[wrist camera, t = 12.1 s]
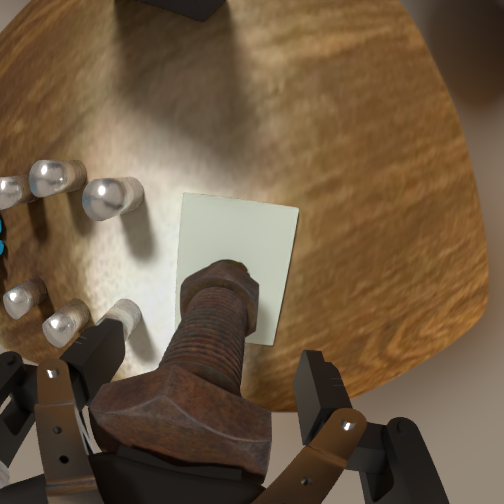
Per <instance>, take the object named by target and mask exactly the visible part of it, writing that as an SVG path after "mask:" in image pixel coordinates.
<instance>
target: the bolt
mask: <svg viewBox="0 0 504 504" xmlns="http://www.w3.org/2000/svg"><path fill="white" fill-rule="evenodd" d="M247 272H248V269H247V267H246V266H245V265H244V264H243V263H242V262H237V261H234V260H231V259H222V260H219V261H216V262H214V263H211V264H210V266H208V267H205V268H203V269H201V270H199V271H197V272H195V273H194V274H192V275H190V276H188V277H187V278H185V280H184V281H183V283H182V284H181V288H180V315H181V322H180V324H179V325H178V328H177V330H176V332H175V333H174V335H173V337H172V339H171V342H170V343H169V346H168V347H167V349H166V351H165V353H164V356H163V357H162V360H161V362H160V363H159V367H158V368H157V369H156V370H154V371H151V372H148V373H144V374H141V375H137V376H133V377H130V378H126V379H122V380H118V381H115V382H111V383H107V384H103V385H102V386H101V388H100V389H99V391H98V393H97V394H96V396H95V397H94V399H93V401H92V402H91V404H90V405H89V407H88V411H89V418H90V425H91V428H92V432H93V435H94V439H95V440H96V443H97V445H98V446H99V448H100V449H101V451H102V452H117V451H118V449H119V446H120V445H121V446H124V447H128V448H131V449H134V450H138V451H141V452H145V453H148V454H150V455H152V456H154V457H156V458H158V459H160V460H163V461H165V462H167V463H169V464H171V465H174V466H177V467H203V466H213V467H221V468H229V469H240V470H242V473H241V477H243V478H246V479H249V480H251V481H254V482H256V483H258V484H260V485H261V484H263V482H264V480H265V477H266V474H267V470H268V465H269V460H270V451H271V442H272V431H271V430H272V427H271V411H270V410H268V409H266V408H263V407H261V406H259V405H256V404H254V403H252V402H250V401H247V400H245V399H243V398H242V396H241V393H240V385H241V377H242V367H243V366H242V364H243V356H244V343H245V337H247V336H249V335H250V334H252V333H254V332H255V331H256V326H257V315H258V304H259V283H257V282H256V281H255V280H254V279H252V278H251V277H250V273H247Z"/></svg>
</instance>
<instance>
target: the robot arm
mask: <svg viewBox="0 0 504 504" xmlns="http://www.w3.org/2000/svg"><path fill="white" fill-rule="evenodd" d="M124 357H125V341H124V330H123V323H122V321H119V320H115V319H111V318H107V317H106V318H105V319H104V320H103V321H102V322H101V323H100V324H99V325H98V326H96V325H94V326H92V327H90V328H88V329H86V330H85V331H84V332H83V333H82V334H81V335H80V337H78V338H77V339H76V340H75V342H74V343H73V344H72V345H71V346H70V347H69V348H68V349H67V350H66V351H65V352H64V353H63V355H62V356H61V357H60V358H59V359H57V358H50V359H46V360H44V361H42V362H41V363H40V364H39V365H38V366H34V365H28V364H24V363H23V360H22V357H21V355H20V354H18V353H16V352H13V351H9V352H4V353H2V354H0V407H1V405H2V404H3V402H4V401H5V400H6V398H7V397H8V396H10V397H11V401H10V402H9V404H8V405H7V406H6V408H5V409H4V410H3V412H2V413H1V415H0V504H321V503H322V501H323V500H324V499H325V498H326V496H327V495H328V493H329V492H330V490H331V489H332V488H333V486H334V485H335V483H336V482H337V480H338V478H339V477H340V475H341V474H342V472H343V471H344V469H347V470H353V471H359V475H360V479H361V484H362V489H363V494H364V499H365V504H449V501H448V498H447V496H446V493H445V491H444V488H443V485H442V483H441V480H440V478H439V475H438V473H437V470H436V468H435V465H434V463H433V461H432V458H431V456H430V454H429V451H428V449H427V447H426V445H425V442H424V440H423V438H422V436H421V433H420V431H419V429H418V427H417V426H416V424H415V423H414V422H413V421H411V420H409V419H407V418H404V417H396V418H393V419H391V420H390V421H389V423H388V424H387V425H381V424H374V423H369V422H367V420H366V418H365V416H364V415H363V414H362V413H360V412H359V411H357V410H355V409H353V408H352V405H351V402H350V400H349V397H348V394H347V392H346V389H345V386H344V384H343V381H342V379H341V376H340V373H339V371H338V369H337V368H336V367H335V366H334V365H333V364H332V363H331V362H325V361H324V358H323V355H322V352H321V351H315V350H303V352H302V354H301V358H300V361H299V365H298V368H297V371H296V374H295V378H294V393H295V399H296V405H297V411H298V417H299V424H300V429H301V436H302V443H303V445H306V446H305V447H304V448H303V449H302V450H301V452H300V453H299V454H298V455H297V456H296V457H295V458H294V460H293V461H292V462H291V463H290V464H289V465H288V466H287V467H286V469H285V470H284V471H283V472H282V473H281V474H280V475H279V476H278V477H277V478H276V479H275V480H274V481H273V482H272V483H271V485H269V487H268V488H267V489H266V488H265V487H263V486H262V485H260V484H258V483H256V482H254V481H251V480H249V479H246V478H243V477H241V473H242V470H240V469H229V468H221V467H213V466H203V467H177V466H174V465H171V464H169V463H167V462H165V461H163V460H160V459H158V458H156V457H154V456H152V455H150V454H148V453H145V452H141V451H138V450H134V449H131V448H128V447H124V446H121V445H120V446H119V449H118V451H117V452H100V453H96V452H95V449H94V447H93V444H92V441H91V438H90V435H89V432H88V428H87V425H86V421H85V418H84V414H83V411H82V409H83V408H84V406H85V405H86V406H89V405H90V404H91V402H92V401H93V399H94V397H95V396H96V394H97V393H98V391H99V389H100V388H101V386H102V385H103V384H107V383H110V381H111V380H112V378H113V377H114V375H115V373H116V372H117V370H118V368H119V367H120V365H121V364H122V362H123V360H124ZM34 422H36V430H37V437H38V444H39V450H40V455H41V461H42V465H43V470H44V474H41V475H38V476H35V477H32V478H29V479H26V480H23V481H20V482H17V483H13V484H11V482H10V481H9V471H8V468H9V466H10V464H11V462H12V460H13V458H14V456H15V454H16V453H17V451H18V449H19V447H20V445H21V444H22V442H23V441H24V439H25V437H26V435H27V434H28V432H29V430H30V428H31V427H32V425H33V424H34Z"/></svg>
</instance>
